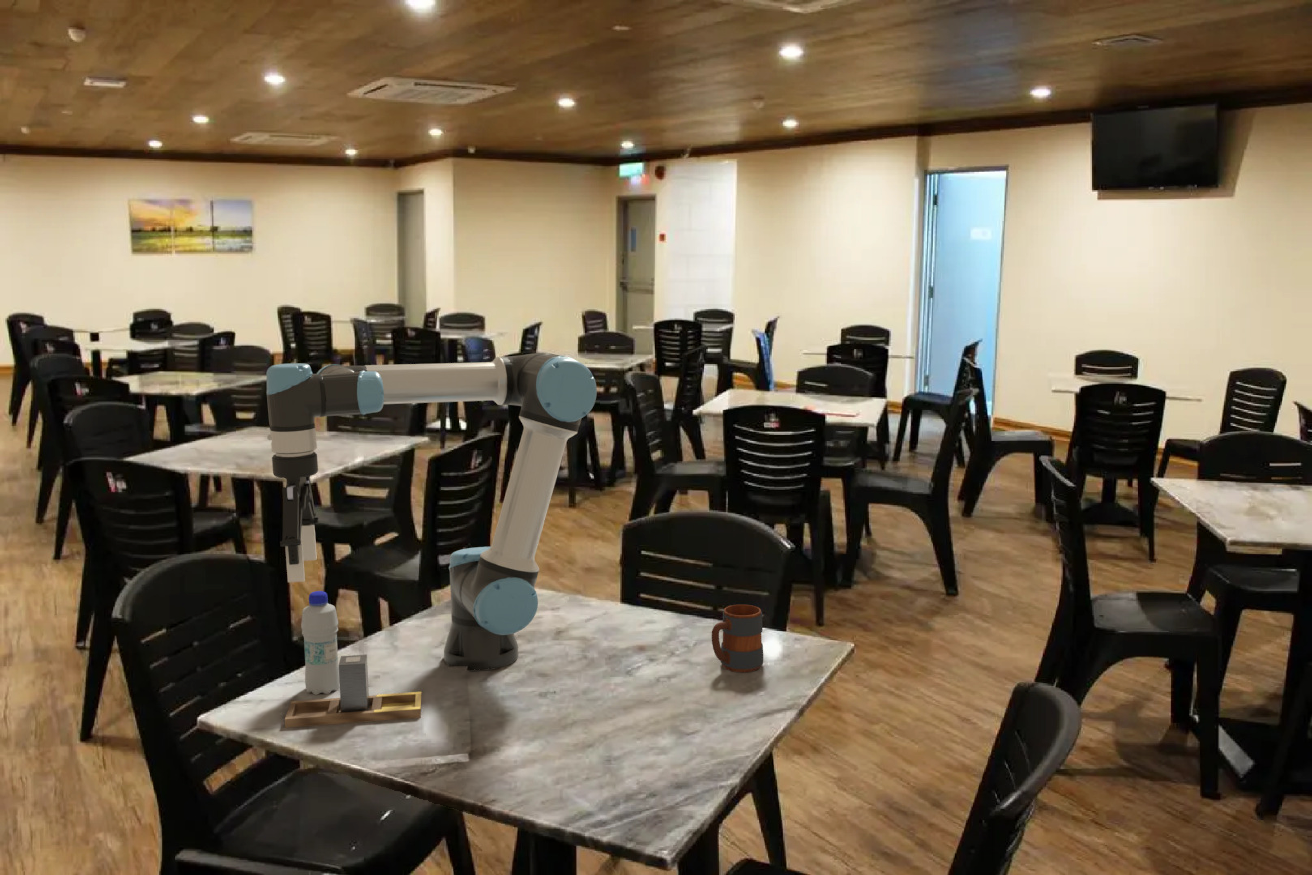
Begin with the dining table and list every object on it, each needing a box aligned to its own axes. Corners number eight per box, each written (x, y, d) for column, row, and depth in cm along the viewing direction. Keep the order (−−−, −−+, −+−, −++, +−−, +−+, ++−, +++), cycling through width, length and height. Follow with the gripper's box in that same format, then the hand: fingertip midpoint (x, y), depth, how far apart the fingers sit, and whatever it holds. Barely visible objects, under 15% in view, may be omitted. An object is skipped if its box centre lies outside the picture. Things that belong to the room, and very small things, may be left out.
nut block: (369, 707, 200) (366, 654, 199) (367, 717, 196) (365, 662, 194) (343, 709, 199) (341, 655, 198) (341, 719, 195) (338, 664, 193)
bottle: (331, 701, 205) (325, 597, 202) (298, 698, 207) (292, 595, 203) (348, 687, 212) (343, 587, 209) (315, 685, 213) (310, 585, 210)
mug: (698, 667, 222) (698, 611, 220) (744, 655, 229) (744, 600, 227) (726, 680, 215) (726, 623, 213) (772, 667, 222) (773, 611, 220)
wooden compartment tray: (421, 704, 204) (421, 691, 203) (420, 722, 196) (420, 708, 196) (291, 714, 200) (291, 700, 199) (285, 732, 192) (284, 718, 191)
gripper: (284, 441, 204) (293, 552, 208) (257, 467, 180) (267, 592, 184) (326, 440, 206) (334, 550, 209) (305, 465, 181) (314, 589, 185)
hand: (302, 570), depth 196 cm, fingers open, 13 cm apart
